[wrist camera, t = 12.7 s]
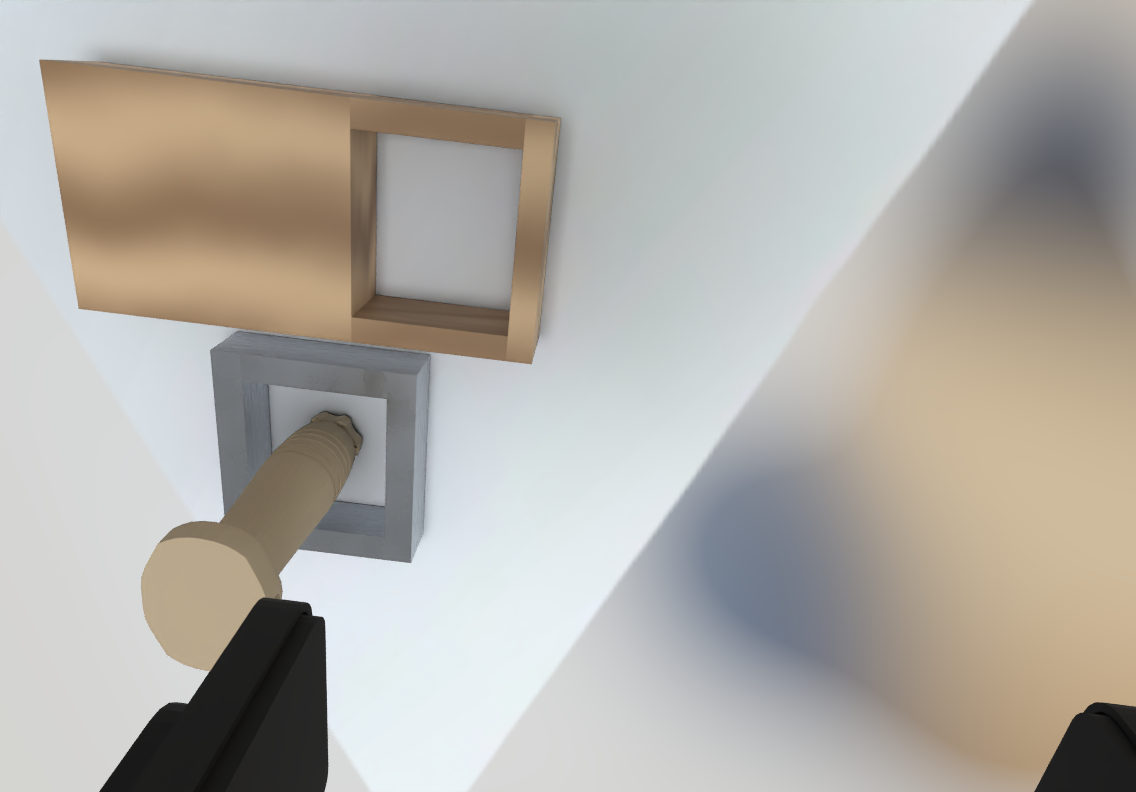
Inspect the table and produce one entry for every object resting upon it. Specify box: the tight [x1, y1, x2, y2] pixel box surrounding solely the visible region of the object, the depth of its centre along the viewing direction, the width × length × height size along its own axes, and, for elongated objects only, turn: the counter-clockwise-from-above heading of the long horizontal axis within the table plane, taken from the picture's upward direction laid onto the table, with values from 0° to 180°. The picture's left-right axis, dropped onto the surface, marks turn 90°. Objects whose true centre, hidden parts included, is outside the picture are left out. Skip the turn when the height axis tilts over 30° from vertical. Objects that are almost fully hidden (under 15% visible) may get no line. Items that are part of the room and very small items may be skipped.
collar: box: [210, 332, 430, 563], centre depth 41 cm, size 12×10×3 cm
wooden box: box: [39, 60, 561, 364], centre depth 35 cm, size 11×22×4 cm, turn 84°
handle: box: [141, 412, 362, 671], centre depth 35 cm, size 5×6×15 cm
